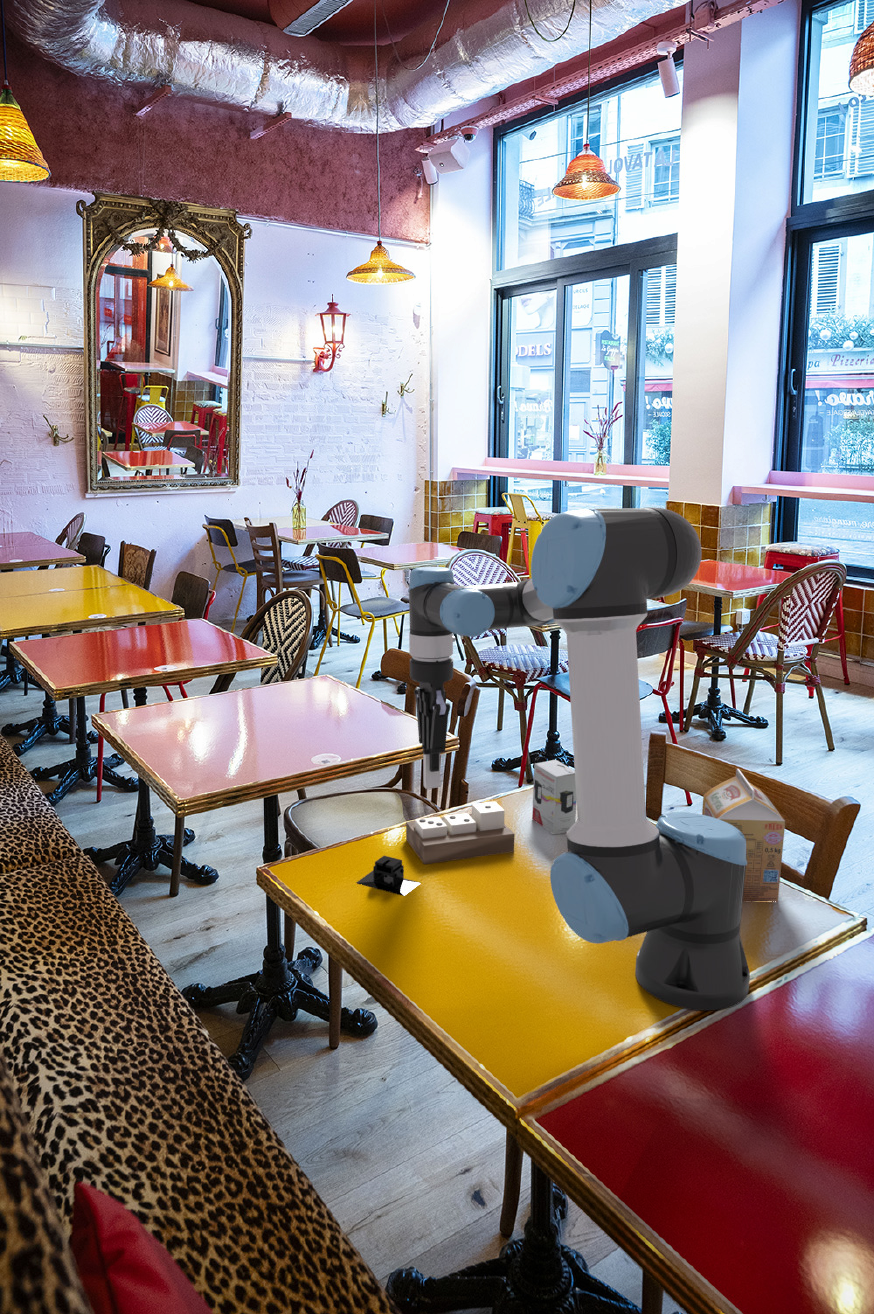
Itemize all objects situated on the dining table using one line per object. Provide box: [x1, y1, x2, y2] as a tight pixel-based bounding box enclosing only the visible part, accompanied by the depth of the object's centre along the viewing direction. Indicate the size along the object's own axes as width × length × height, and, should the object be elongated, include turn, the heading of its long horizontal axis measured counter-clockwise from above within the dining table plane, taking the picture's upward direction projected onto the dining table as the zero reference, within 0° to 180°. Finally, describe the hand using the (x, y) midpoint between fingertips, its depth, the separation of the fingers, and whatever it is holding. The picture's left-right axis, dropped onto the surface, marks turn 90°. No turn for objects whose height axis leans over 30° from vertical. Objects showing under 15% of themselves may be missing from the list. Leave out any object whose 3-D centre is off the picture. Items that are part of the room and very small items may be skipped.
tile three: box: [414, 816, 447, 839], centre depth 172 cm, size 5×5×5 cm
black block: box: [355, 855, 421, 897], centre depth 159 cm, size 12×7×5 cm, turn 61°
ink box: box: [531, 759, 577, 835], centre depth 182 cm, size 9×5×12 cm, turn 25°
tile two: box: [443, 812, 476, 835], centre depth 173 cm, size 5×5×5 cm
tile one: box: [471, 801, 505, 831], centre depth 175 cm, size 5×5×5 cm
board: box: [405, 813, 515, 865], centre depth 174 cm, size 11×17×4 cm, turn 109°
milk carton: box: [701, 768, 786, 903], centre depth 156 cm, size 11×11×19 cm
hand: (432, 786), depth 169 cm, fingers closed
